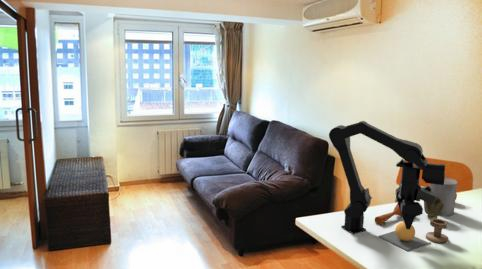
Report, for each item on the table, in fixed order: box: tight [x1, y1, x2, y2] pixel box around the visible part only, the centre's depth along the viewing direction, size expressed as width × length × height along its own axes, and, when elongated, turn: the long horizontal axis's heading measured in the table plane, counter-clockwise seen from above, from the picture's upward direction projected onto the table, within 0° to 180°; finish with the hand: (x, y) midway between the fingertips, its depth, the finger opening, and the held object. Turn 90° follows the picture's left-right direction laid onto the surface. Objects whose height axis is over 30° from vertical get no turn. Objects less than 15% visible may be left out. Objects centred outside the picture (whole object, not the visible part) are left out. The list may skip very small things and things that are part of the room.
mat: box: [378, 230, 432, 252], centre depth 134 cm, size 12×12×1 cm
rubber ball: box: [394, 221, 416, 241], centre depth 132 cm, size 6×6×6 cm
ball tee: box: [425, 218, 449, 245], centre depth 134 cm, size 7×7×6 cm
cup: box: [423, 198, 445, 220], centre depth 152 cm, size 8×7×8 cm
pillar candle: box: [429, 176, 458, 217], centre depth 158 cm, size 10×10×15 cm
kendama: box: [374, 202, 402, 226], centre depth 152 cm, size 6×6×20 cm
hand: (406, 223), depth 132 cm, fingers open, 9 cm apart
